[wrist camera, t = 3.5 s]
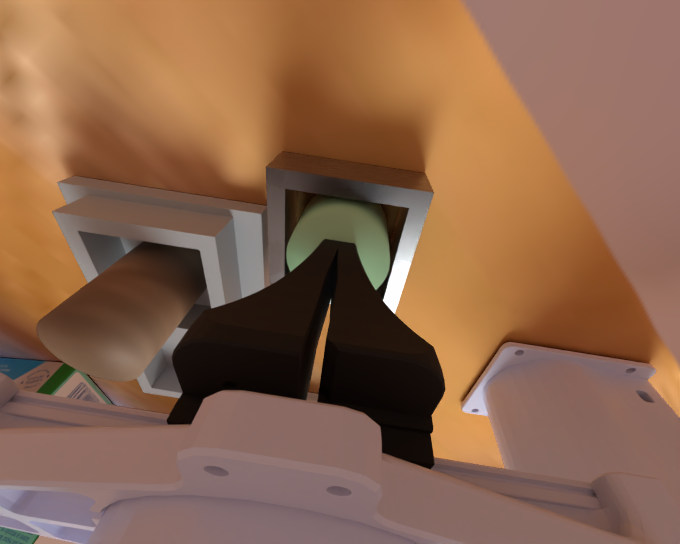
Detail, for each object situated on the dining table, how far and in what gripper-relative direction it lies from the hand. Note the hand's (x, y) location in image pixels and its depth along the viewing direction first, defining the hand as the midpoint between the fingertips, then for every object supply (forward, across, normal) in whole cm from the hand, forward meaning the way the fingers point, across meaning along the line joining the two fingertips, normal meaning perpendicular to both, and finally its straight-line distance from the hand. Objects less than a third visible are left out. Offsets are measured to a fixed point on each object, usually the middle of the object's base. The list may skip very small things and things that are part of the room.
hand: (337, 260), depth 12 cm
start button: (+3, 0, 0) cm, 3 cm away
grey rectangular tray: (+3, +9, +7) cm, 12 cm away
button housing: (+3, 0, 0) cm, 3 cm away
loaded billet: (+2, +9, +4) cm, 10 cm away
